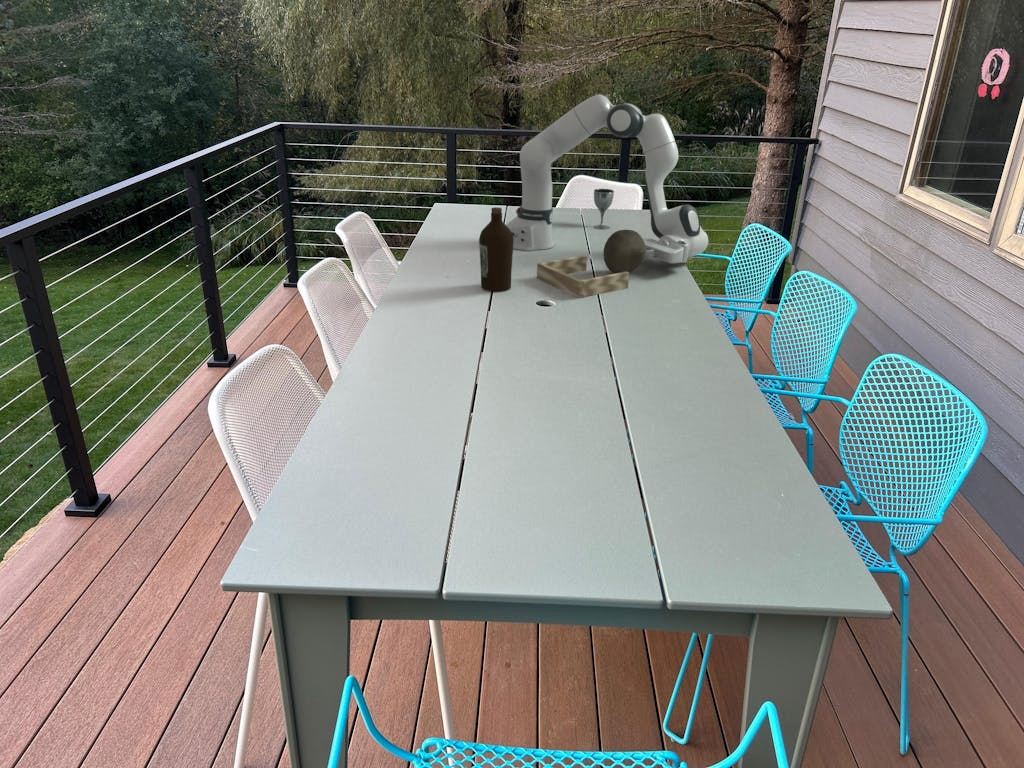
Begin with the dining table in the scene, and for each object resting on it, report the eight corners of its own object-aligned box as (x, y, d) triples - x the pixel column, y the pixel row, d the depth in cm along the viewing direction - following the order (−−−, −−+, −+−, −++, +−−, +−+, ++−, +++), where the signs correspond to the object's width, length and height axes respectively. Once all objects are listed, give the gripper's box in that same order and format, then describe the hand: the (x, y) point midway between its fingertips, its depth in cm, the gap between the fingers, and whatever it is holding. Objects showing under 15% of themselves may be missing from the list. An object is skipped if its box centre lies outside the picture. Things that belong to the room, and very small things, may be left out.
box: (583, 269, 262) (584, 255, 259) (627, 287, 244) (629, 272, 242) (536, 278, 252) (537, 263, 250) (579, 297, 234) (580, 282, 232)
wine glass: (611, 229, 312) (614, 192, 306) (592, 229, 312) (594, 192, 306) (610, 225, 320) (612, 188, 313) (591, 224, 320) (593, 188, 313)
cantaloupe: (597, 278, 253) (600, 233, 246) (606, 266, 265) (609, 223, 258) (640, 283, 249) (644, 237, 242) (647, 271, 261) (651, 227, 255)
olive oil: (507, 281, 248) (508, 203, 238) (516, 291, 239) (518, 211, 229) (475, 283, 245) (475, 205, 235) (484, 294, 236) (484, 213, 226)
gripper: (649, 232, 271) (620, 237, 264) (691, 245, 256) (661, 251, 249) (648, 249, 274) (618, 255, 267) (689, 263, 258) (659, 270, 251)
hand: (639, 253), depth 257 cm, fingers closed
